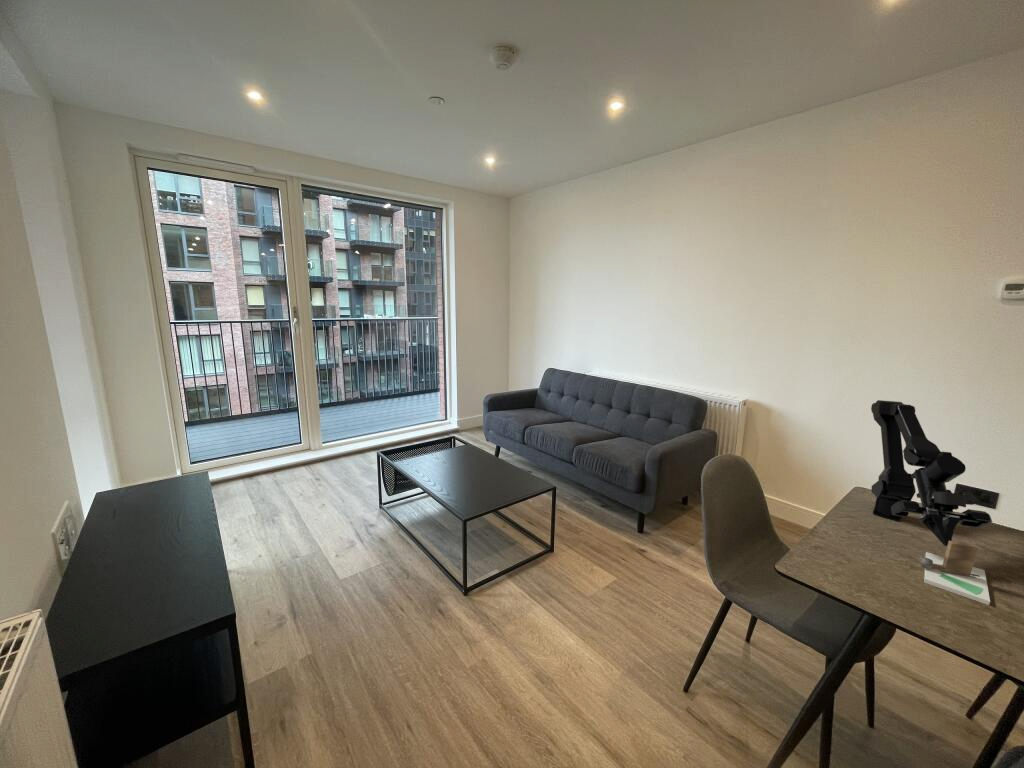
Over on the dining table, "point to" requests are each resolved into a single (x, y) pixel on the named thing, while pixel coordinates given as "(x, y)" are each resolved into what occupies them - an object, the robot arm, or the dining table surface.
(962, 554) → the brown slab with knob
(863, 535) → the dining table surface
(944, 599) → the dining table surface
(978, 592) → the green-marked white board
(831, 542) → the dining table surface
